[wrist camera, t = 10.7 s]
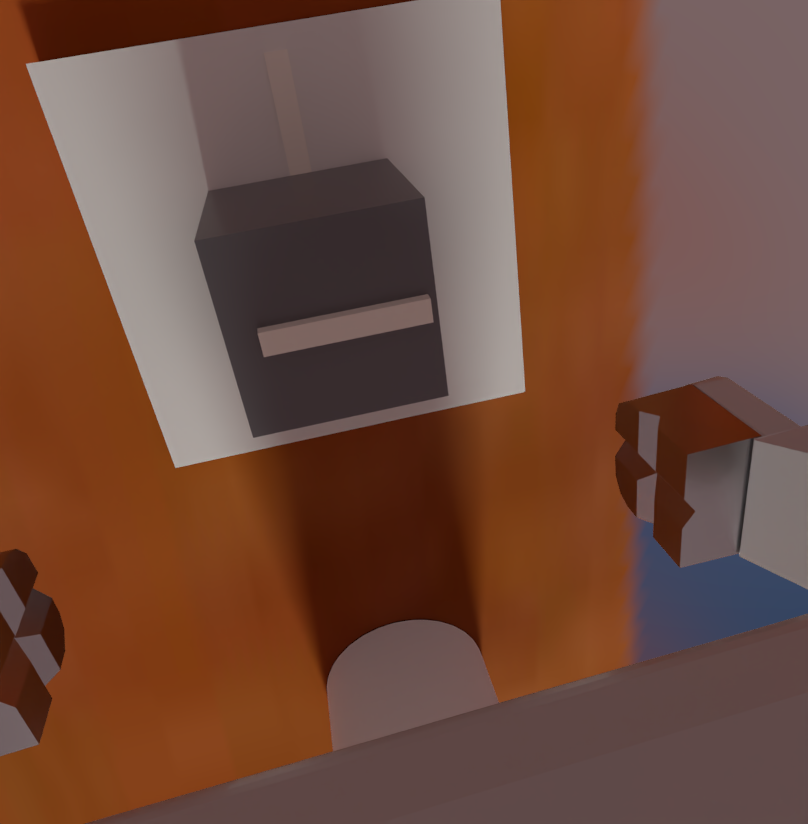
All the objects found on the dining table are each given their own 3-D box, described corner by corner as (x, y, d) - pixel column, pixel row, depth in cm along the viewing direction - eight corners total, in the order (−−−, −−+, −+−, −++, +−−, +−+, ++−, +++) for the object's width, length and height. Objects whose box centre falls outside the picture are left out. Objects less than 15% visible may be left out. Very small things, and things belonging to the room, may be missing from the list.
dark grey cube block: (207, 190, 19) (192, 244, 14) (387, 158, 19) (427, 200, 15) (253, 354, 21) (253, 444, 17) (410, 322, 22) (451, 401, 17)
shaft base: (179, 449, 24) (162, 533, 20) (39, 62, 18) (-26, 69, 14) (514, 376, 25) (563, 442, 21) (486, -11, 19) (548, -24, 15)
